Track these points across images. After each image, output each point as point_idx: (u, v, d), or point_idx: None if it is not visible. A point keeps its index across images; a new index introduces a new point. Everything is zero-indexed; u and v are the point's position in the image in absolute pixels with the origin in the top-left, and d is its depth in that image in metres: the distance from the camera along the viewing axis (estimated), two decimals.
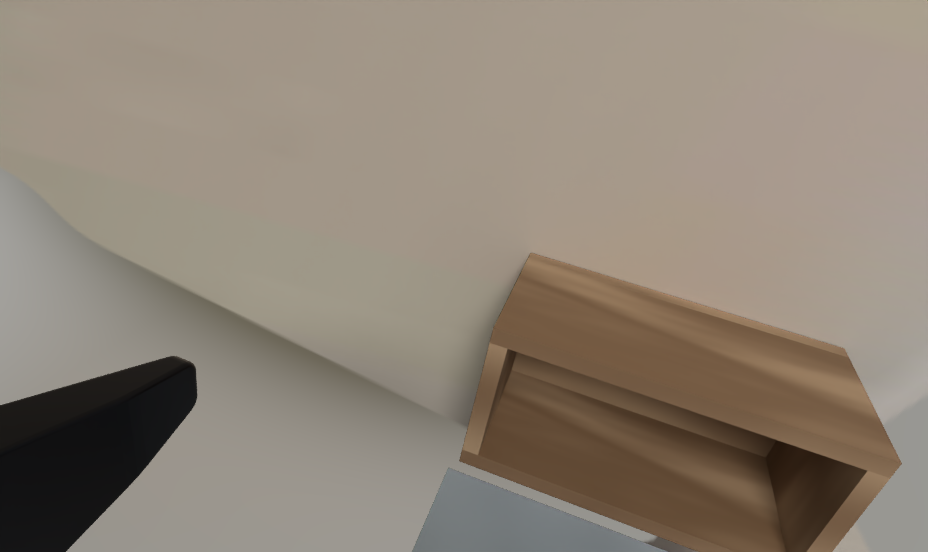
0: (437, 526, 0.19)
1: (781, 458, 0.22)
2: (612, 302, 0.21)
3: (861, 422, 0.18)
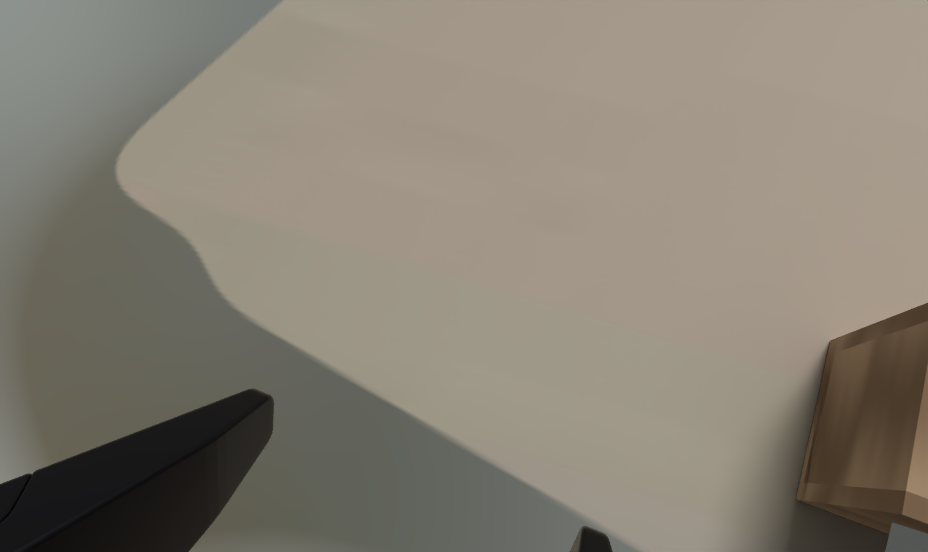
0: None
1: None
2: None
3: None
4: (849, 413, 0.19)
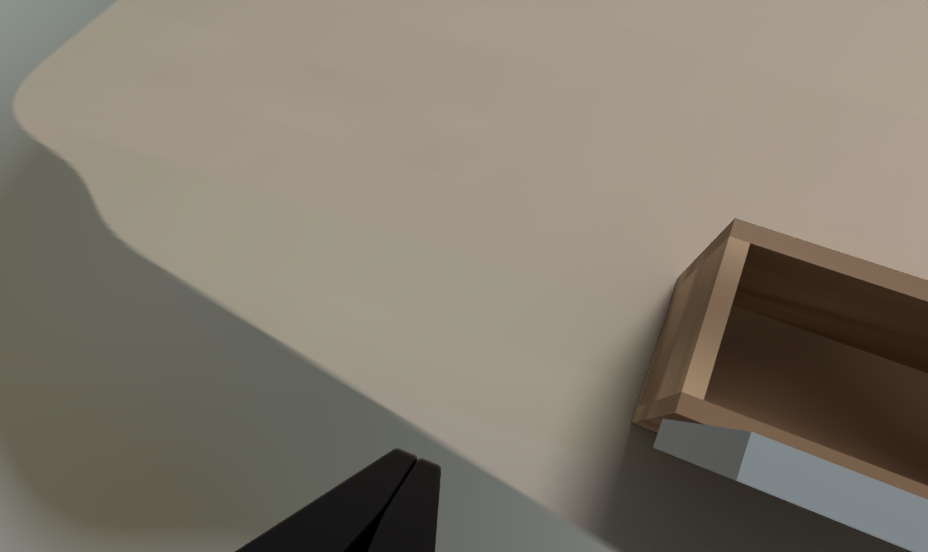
0: None
1: None
2: None
3: None
4: (672, 336, 0.20)
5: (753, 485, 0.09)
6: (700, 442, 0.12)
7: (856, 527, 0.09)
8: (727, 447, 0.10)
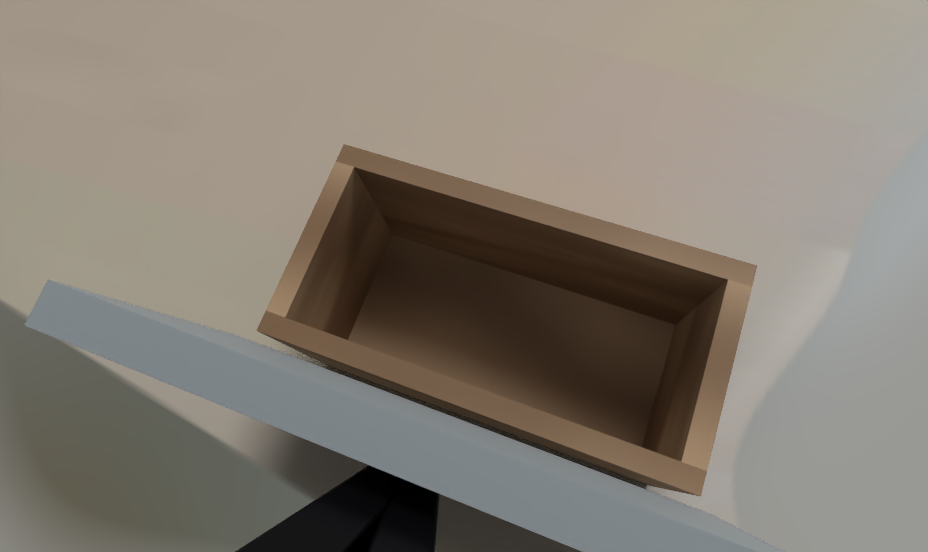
0: (205, 327, 0.13)
1: (653, 429, 0.18)
2: None
3: None
4: None
5: (39, 329, 0.09)
6: None
7: (118, 361, 0.09)
8: None
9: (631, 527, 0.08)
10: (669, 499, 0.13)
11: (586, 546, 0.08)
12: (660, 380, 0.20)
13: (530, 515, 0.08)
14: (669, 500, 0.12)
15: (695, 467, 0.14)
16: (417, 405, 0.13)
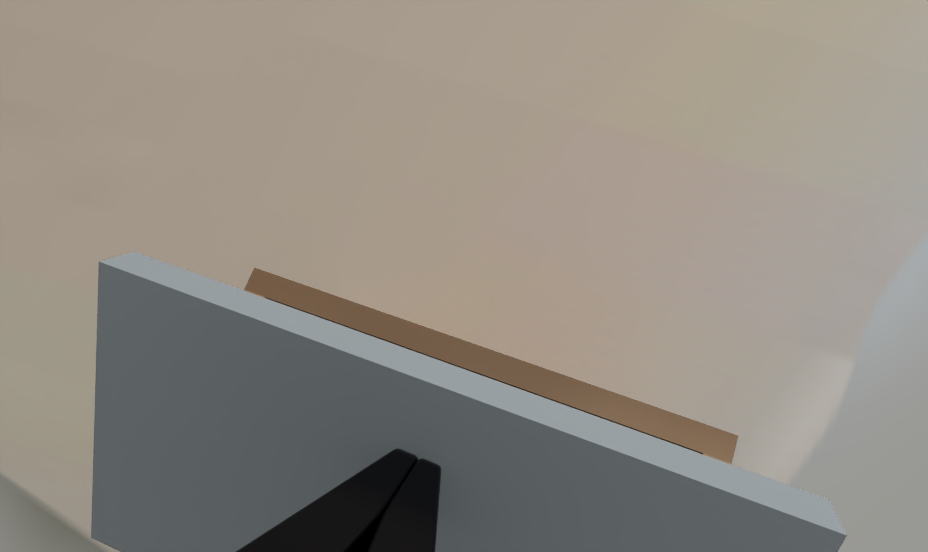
0: None
1: None
2: None
3: None
4: None
5: (112, 266, 0.10)
6: None
7: (185, 294, 0.10)
8: None
9: (639, 440, 0.09)
10: None
11: (608, 443, 0.09)
12: None
13: (557, 423, 0.09)
14: None
15: None
16: None
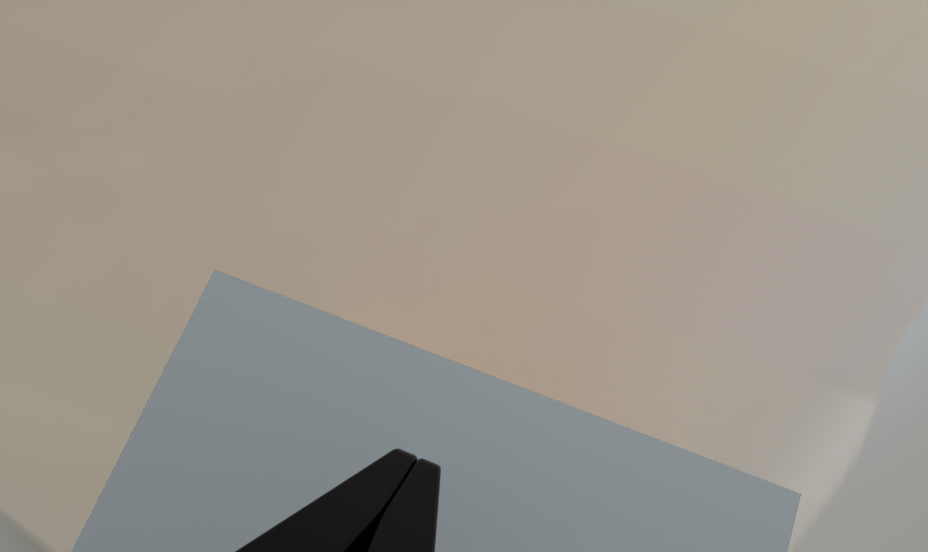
0: None
1: None
2: None
3: None
4: None
5: (224, 274, 0.13)
6: None
7: (284, 297, 0.13)
8: None
9: None
10: None
11: None
12: None
13: None
14: None
15: None
16: None
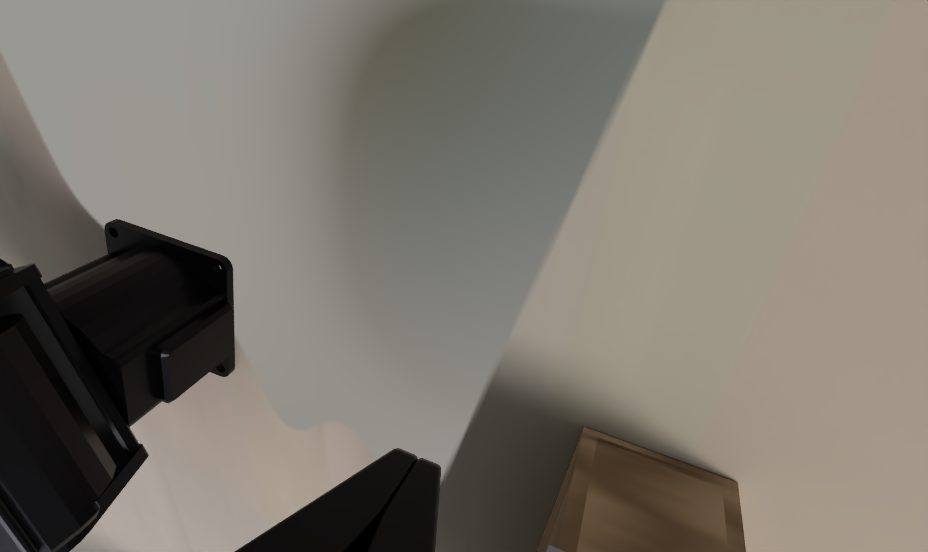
0: None
1: None
2: None
3: None
4: (654, 500, 0.21)
5: None
6: None
7: None
8: None
9: None
10: None
11: None
12: None
13: None
14: None
15: None
16: None
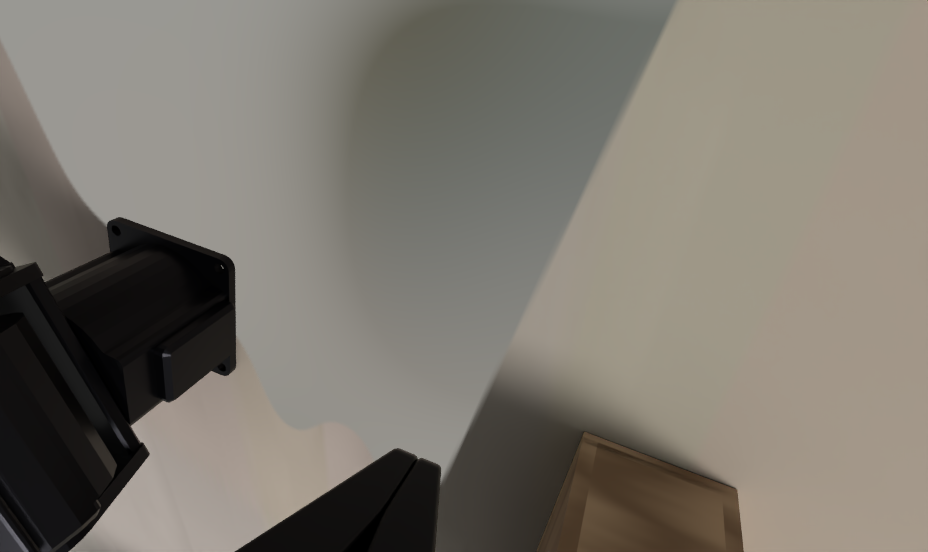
0: None
1: None
2: None
3: None
4: (654, 507, 0.21)
5: None
6: None
7: None
8: None
9: None
10: None
11: None
12: None
13: None
14: None
15: None
16: None
